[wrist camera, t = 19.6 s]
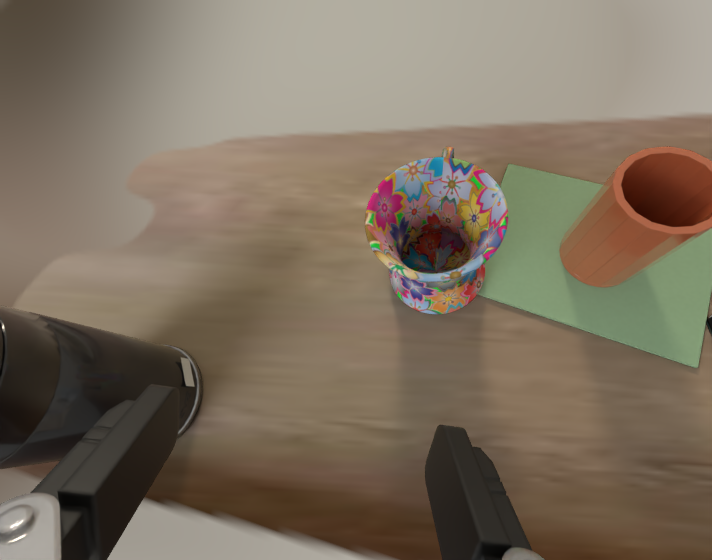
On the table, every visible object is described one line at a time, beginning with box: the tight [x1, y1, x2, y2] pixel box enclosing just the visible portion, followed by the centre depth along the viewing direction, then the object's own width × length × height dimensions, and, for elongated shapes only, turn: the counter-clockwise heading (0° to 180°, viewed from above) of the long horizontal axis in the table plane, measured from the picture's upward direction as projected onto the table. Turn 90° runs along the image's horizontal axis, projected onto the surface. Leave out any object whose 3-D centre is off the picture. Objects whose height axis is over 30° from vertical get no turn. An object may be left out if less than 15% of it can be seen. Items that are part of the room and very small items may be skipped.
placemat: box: [477, 164, 712, 368], centre depth 32 cm, size 18×14×1 cm
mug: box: [365, 147, 508, 314], centre depth 29 cm, size 12×9×11 cm
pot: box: [559, 146, 712, 287], centre depth 27 cm, size 6×6×10 cm
